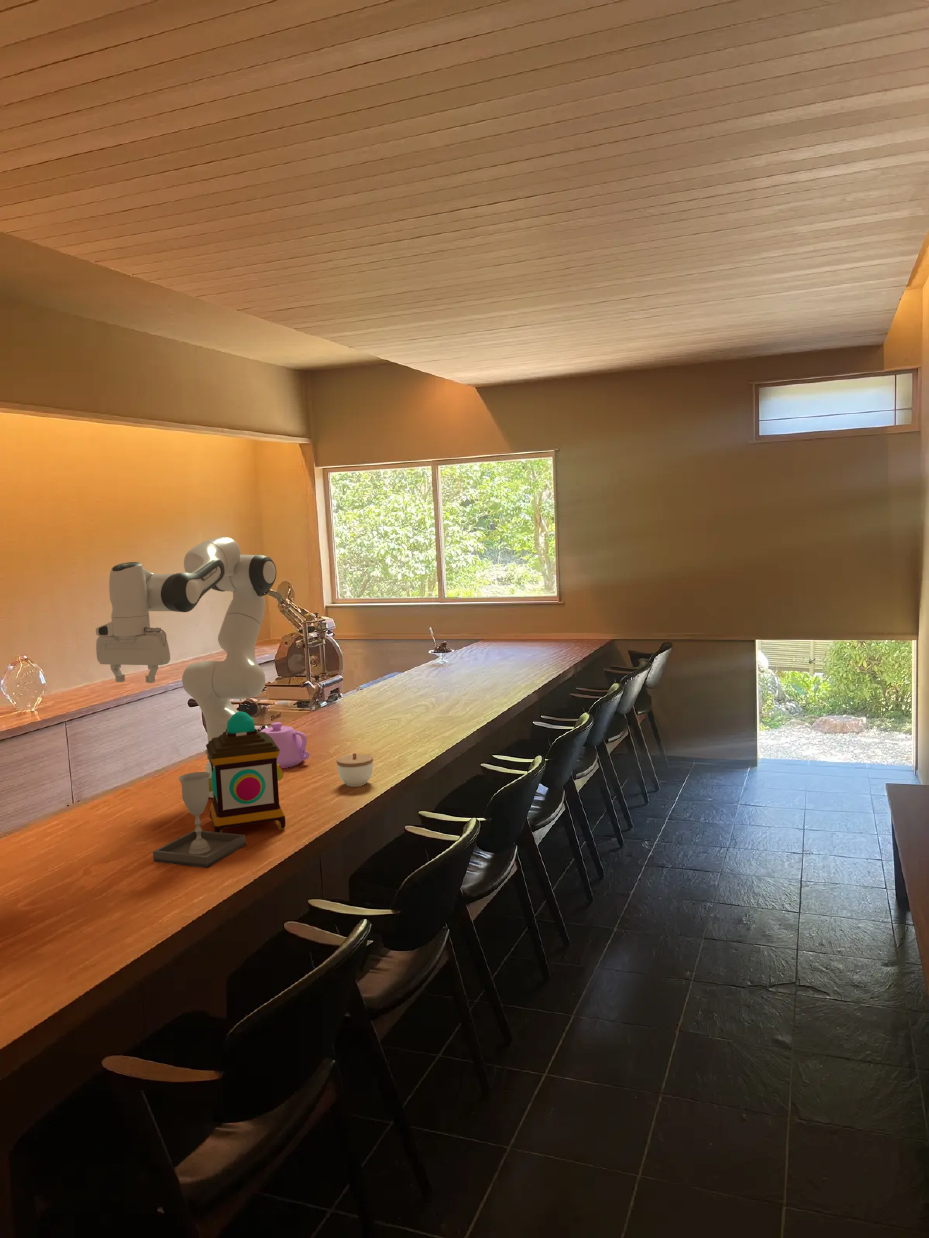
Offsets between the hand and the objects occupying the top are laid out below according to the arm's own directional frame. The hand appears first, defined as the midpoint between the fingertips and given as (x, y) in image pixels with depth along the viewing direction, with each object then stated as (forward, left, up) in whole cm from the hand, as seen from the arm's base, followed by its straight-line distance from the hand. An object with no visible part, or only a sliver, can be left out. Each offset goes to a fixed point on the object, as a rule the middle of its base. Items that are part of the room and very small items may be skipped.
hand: (135, 682), depth 216 cm
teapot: (-68, -5, -39) cm, 79 cm away
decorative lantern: (-12, +22, -39) cm, 47 cm away
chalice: (+9, +23, -38) cm, 46 cm away
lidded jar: (-52, +33, -39) cm, 73 cm away
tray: (+8, +23, -39) cm, 46 cm away
